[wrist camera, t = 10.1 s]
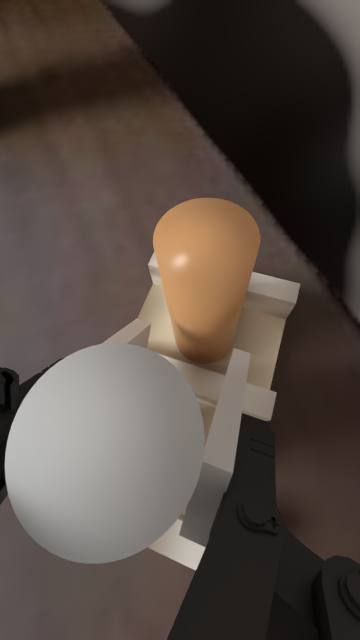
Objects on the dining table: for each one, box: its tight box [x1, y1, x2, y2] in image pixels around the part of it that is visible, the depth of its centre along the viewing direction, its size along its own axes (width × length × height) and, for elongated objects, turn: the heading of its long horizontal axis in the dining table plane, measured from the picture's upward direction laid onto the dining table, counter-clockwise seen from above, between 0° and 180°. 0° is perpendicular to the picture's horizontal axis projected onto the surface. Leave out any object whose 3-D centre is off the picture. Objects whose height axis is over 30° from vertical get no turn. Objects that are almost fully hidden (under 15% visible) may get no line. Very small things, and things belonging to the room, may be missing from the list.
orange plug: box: [153, 198, 260, 364], centre depth 15 cm, size 4×4×10 cm
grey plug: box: [5, 343, 205, 564], centre depth 10 cm, size 4×4×10 cm
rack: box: [137, 251, 300, 570], centre depth 18 cm, size 10×16×4 cm, turn 160°
